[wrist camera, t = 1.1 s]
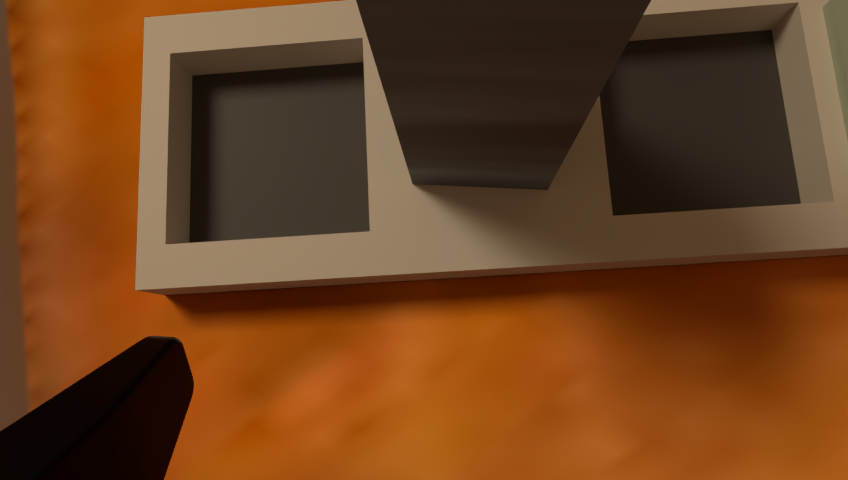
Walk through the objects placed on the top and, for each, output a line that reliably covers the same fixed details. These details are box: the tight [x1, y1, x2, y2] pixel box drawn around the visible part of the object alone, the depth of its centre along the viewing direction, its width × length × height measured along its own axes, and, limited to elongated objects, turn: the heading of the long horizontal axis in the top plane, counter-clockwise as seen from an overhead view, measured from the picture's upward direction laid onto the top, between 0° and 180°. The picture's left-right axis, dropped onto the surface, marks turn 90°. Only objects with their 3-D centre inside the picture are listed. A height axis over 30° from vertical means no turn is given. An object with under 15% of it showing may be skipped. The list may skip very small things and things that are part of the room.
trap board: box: [135, 0, 848, 295], centre depth 21 cm, size 31×10×2 cm, turn 93°
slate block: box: [356, 0, 651, 190], centre depth 14 cm, size 4×4×12 cm
